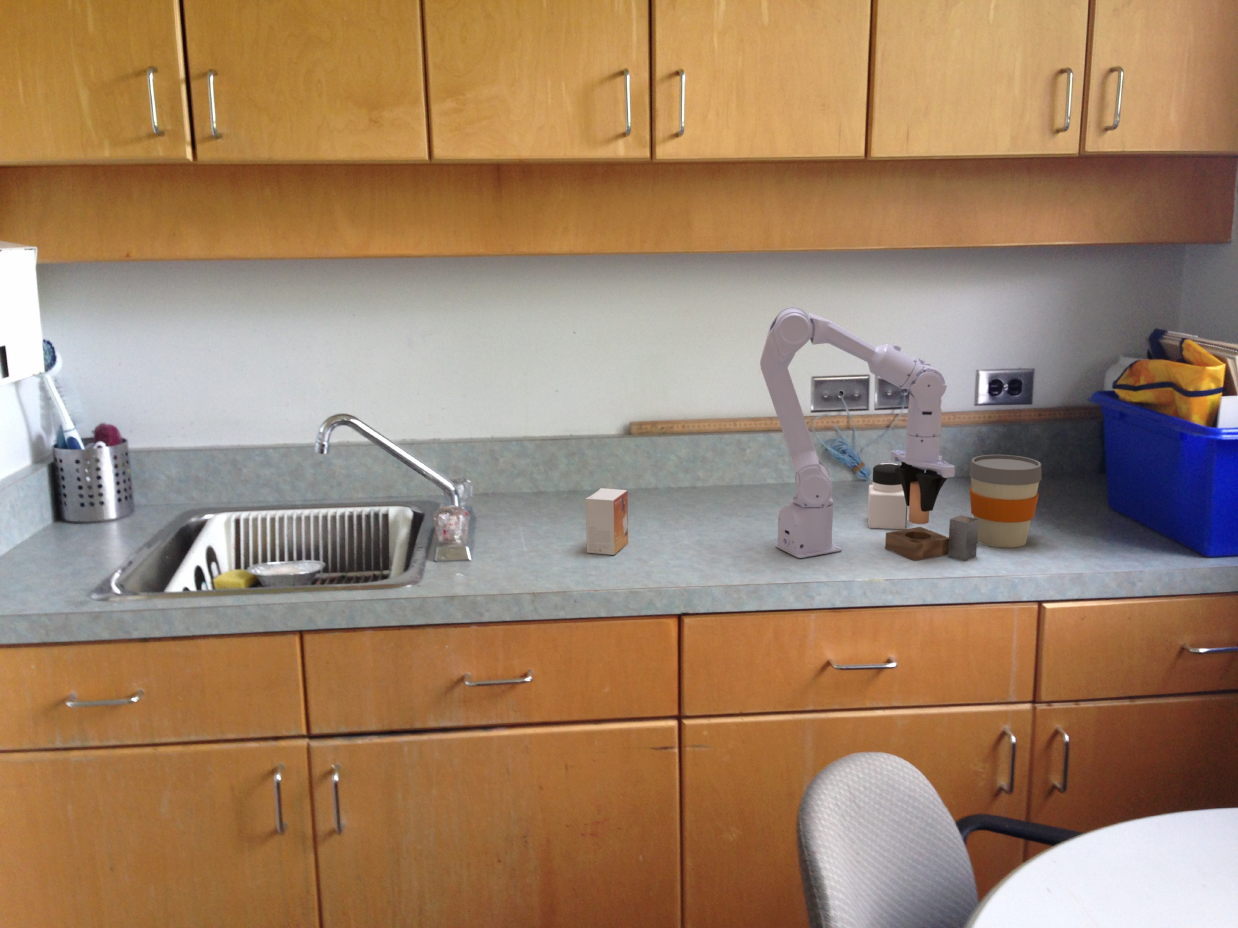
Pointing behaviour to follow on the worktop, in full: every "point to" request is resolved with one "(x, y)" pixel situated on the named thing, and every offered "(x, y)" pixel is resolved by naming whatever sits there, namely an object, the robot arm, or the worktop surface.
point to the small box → (607, 521)
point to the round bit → (916, 506)
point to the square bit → (963, 537)
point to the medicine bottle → (886, 499)
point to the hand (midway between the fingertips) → (919, 507)
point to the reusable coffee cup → (1004, 498)
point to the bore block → (917, 543)
